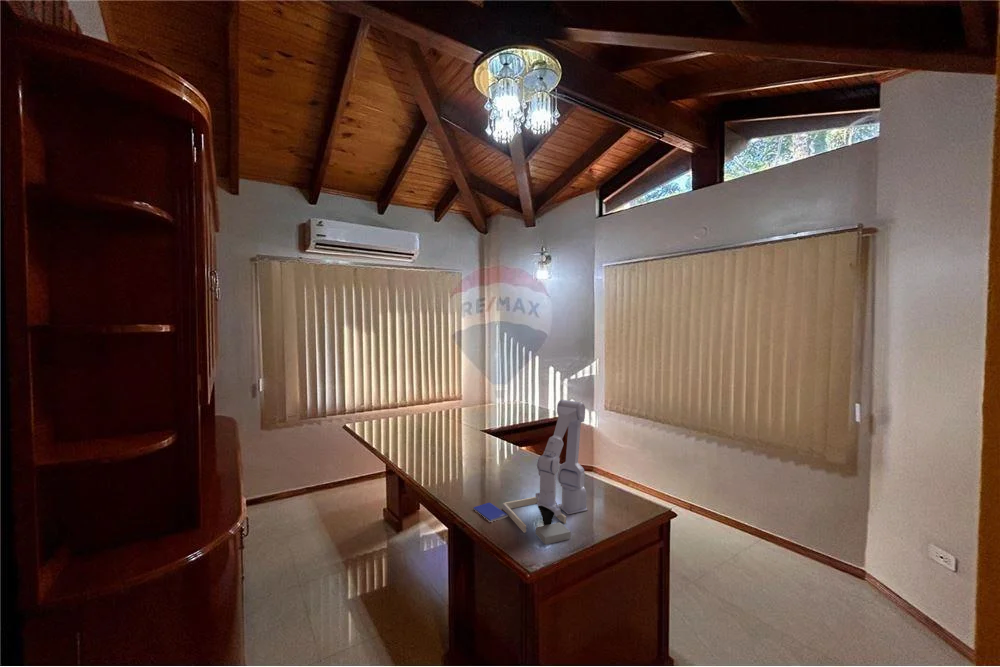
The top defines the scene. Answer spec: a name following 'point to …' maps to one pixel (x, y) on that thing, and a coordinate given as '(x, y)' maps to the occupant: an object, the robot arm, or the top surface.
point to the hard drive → (490, 512)
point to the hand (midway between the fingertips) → (547, 526)
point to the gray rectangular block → (553, 533)
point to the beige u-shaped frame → (523, 502)
